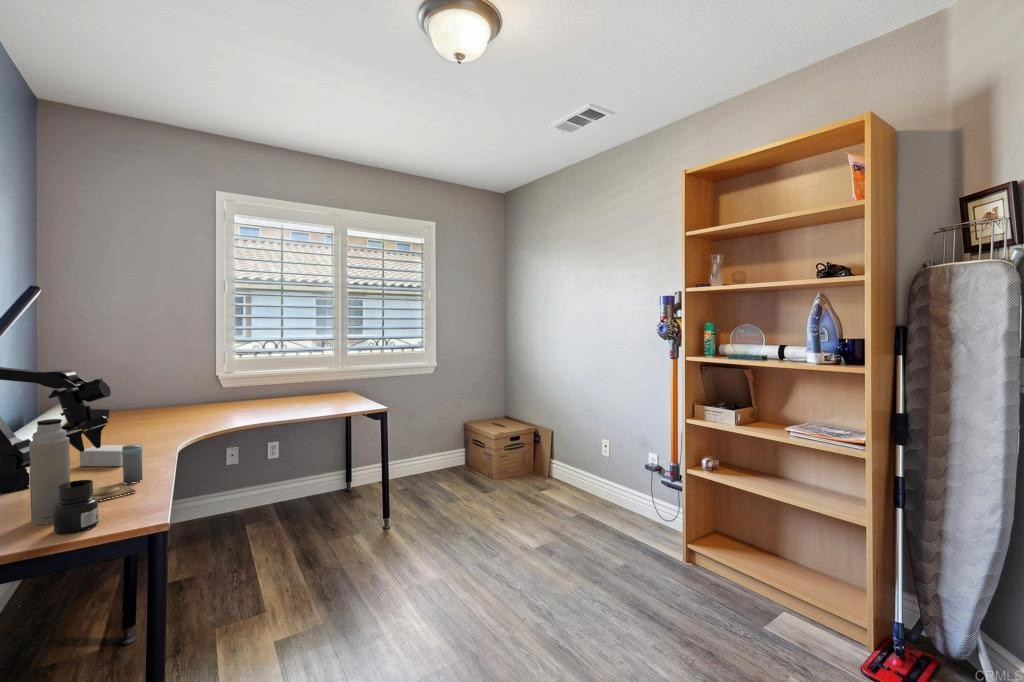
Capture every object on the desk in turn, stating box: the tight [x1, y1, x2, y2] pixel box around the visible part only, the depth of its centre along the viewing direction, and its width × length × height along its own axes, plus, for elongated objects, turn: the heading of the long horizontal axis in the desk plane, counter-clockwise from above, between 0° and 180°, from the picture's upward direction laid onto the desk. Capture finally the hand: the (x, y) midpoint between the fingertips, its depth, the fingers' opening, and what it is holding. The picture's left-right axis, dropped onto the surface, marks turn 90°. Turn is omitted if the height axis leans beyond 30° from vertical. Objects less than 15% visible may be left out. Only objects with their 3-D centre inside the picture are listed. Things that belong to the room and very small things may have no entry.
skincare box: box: [79, 444, 127, 467], centre depth 182 cm, size 8×7×16 cm
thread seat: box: [92, 482, 136, 501], centre depth 150 cm, size 12×12×2 cm
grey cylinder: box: [122, 443, 143, 484], centre depth 162 cm, size 5×5×12 cm
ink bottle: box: [53, 479, 100, 535], centre depth 126 cm, size 10×9×12 cm
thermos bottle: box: [29, 418, 71, 525], centre depth 131 cm, size 8×8×28 cm
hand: (90, 449), depth 159 cm, fingers open, 9 cm apart
